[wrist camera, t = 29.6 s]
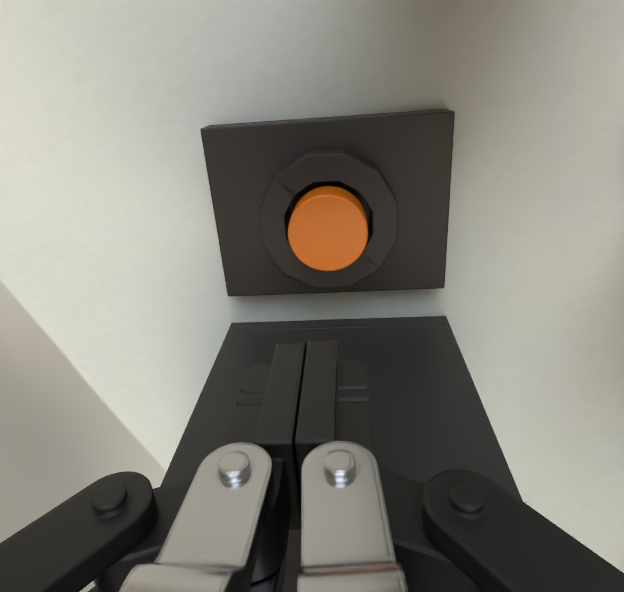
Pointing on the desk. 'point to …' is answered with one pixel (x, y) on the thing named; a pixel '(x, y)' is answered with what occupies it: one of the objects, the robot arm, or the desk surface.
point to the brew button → (328, 229)
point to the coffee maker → (383, 393)
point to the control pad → (339, 173)
